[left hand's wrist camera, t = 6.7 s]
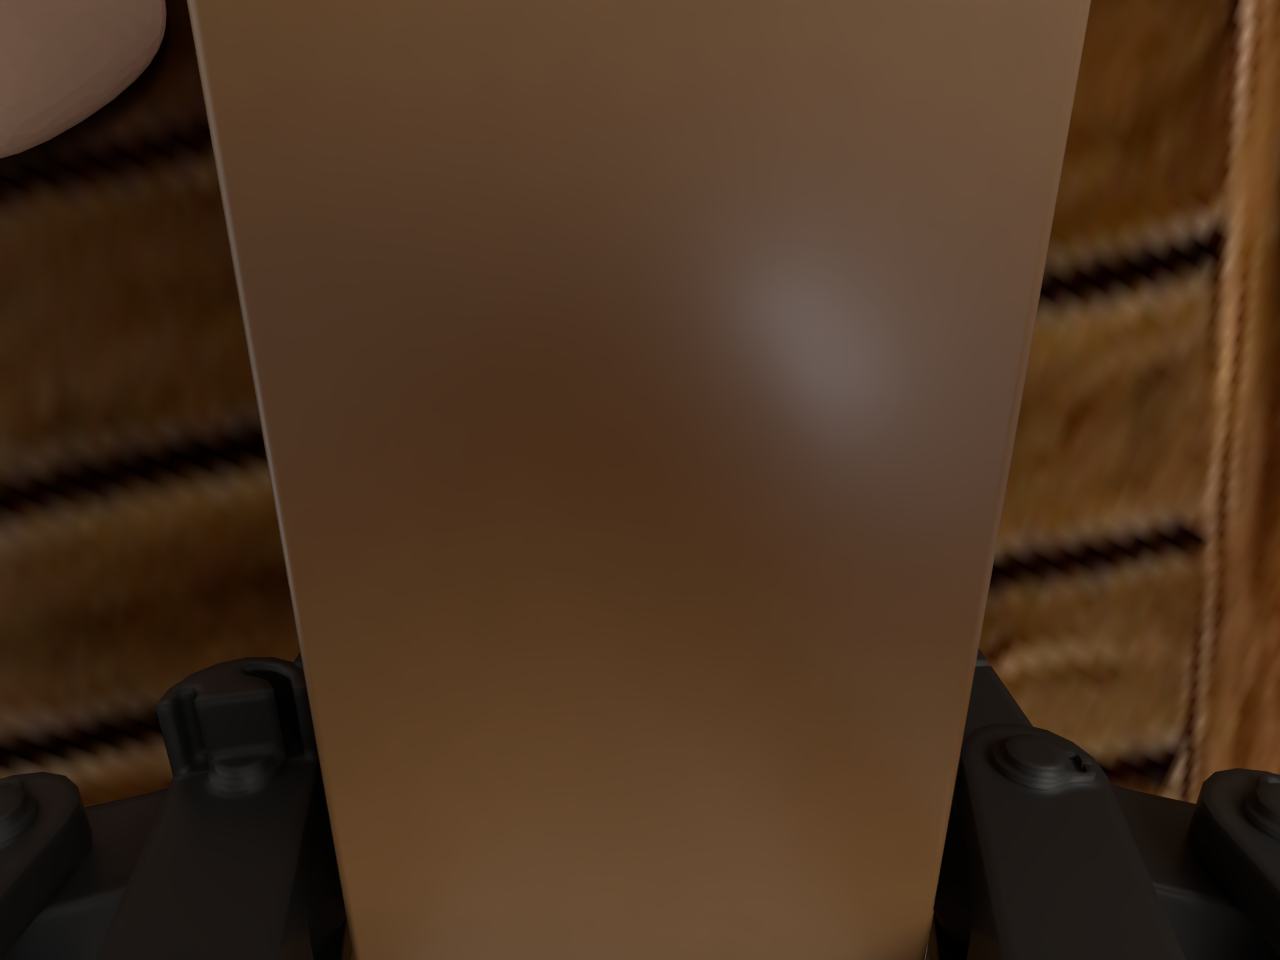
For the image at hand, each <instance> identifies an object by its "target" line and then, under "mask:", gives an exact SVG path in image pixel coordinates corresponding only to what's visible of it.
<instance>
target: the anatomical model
mask: <svg viewBox="0 0 1280 960" xmlns="http://www.w3.org/2000/svg"><path fill="white" fill-rule="evenodd" d="M165 26H166V5H165V0H0V158H3V157H7V156H11V155H14V154H18V153H21V152H23V151H25V150H27V149H30V148H32V147H34V146H37V145H39V144H41V143H44V142H46V141H48V140H50V139H52V138H54V137H56V136H57V135H59V134H61V133H63V132H64V131H66V130H68V129H69V128H71V127H73V126H75V125H76V124H78V123H80V122H82V121H83V120H85V119H86V118H88V117H89V116H90V115H92V114H93V113H95V112H96V111H98V110H99V109H101V108H102V107H103V106H105V105H106V104H108V103H109V102H111V101H112V100H113V99H115V98H116V97H117V96H118V95H119V94H120V93H121V92H123V91H124V90H125V89H126V88H127V87H128V86H130V85H131V84H132V83H133V82H134V81H135V80H136V79H137V78H138V77H139V76H140V75H141V74H142V73H143V71H144V70H145V69H146V68H147V67H148V66H149V64H150V63H151V61H152V60H153V58H154V56H155V55H156V53H157V52H158V50H159V47H160V45H161V42H162V39H163V36H164V31H165Z"/></svg>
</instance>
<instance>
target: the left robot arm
mask: <svg viewBox="0 0 1280 960" xmlns="http://www.w3.org/2000/svg"><path fill="white" fill-rule="evenodd" d="M155 707H156V711H157V715H158V718H159V722H160V726H161V730H162V734H163V738H164V742H165V746H166V750H167V754H168V758H169V761H170V765H171V769H172V773H173V779H172V782H171V784H170V786H169V788H166V789H163V790H159V791H156V792H152V793H149V794H145V795H140V796H135V797H131V798H126V799H122V800H117V801H112V802H108V803H103V804H99V805H94V806H89V807H85V808H84V806H83V803H82V799H81V796H80V793H79V790H78V787H77V786H76V785H75V784H74V783H73V782H72V781H71V780H69V779H68V778H67V777H66V776H63V775H58V774H52V773H46V772H38V773H29V774H20V775H13V776H10V777H6V778H2V779H0V960H351V951H352V946H351V939H350V933H349V927H348V921H347V915H346V910H345V904H344V898H343V892H342V887H341V881H340V875H339V870H338V864H337V858H336V852H335V847H334V841H333V835H332V829H331V824H330V818H329V812H328V806H327V801H326V795H325V789H324V783H323V778H322V772H321V766H320V761H319V755H318V749H317V743H316V738H315V732H314V726H313V720H312V715H311V709H310V703H309V697H308V692H307V686H306V680H305V674H304V669H303V663H302V657H301V652H300V654H299V655H298V657H297V658H296V659H295V661H294V662H289V661H285V660H281V659H277V658H274V657H253V658H242V659H238V660H233V661H228V662H223V663H219V664H216V665H214V666H211V667H209V668H206V669H204V670H201V671H199V672H196V673H194V674H191V675H190V676H188V677H187V678H185V679H184V680H182V681H181V682H179V683H178V684H176V685H175V686H173V687H172V688H170V689H169V690H168V691H167V692H166V693H165V695H164V696H163V697H162V698H161V699H160V701H159V702H158V703H157V704H156V705H155ZM933 910H934V914H933V920H932V926H931V931H930V937H929V943H928V949H927V954H926V960H1280V775H1278V774H1273V773H1270V772H1267V771H1258V770H1249V769H1240V768H1236V769H1230V770H1224V771H1219V772H1215V773H1214V774H1212V775H1211V776H1210V777H1209V778H1208V779H1207V780H1206V781H1204V782H1203V784H1202V787H1201V791H1200V794H1199V797H1198V800H1197V804H1193V803H1189V802H1184V801H1179V800H1175V799H1170V798H1166V797H1161V796H1156V795H1152V794H1147V793H1142V792H1138V791H1133V790H1130V789H1126V788H1123V787H1119V786H1116V785H1112V784H1110V782H1109V780H1108V778H1107V776H1106V774H1105V773H1104V772H1103V770H1102V769H1101V767H1100V766H1099V765H1098V763H1097V762H1096V760H1095V759H1094V758H1093V757H1092V756H1091V755H1089V754H1088V753H1087V752H1085V751H1084V750H1083V749H1081V748H1080V747H1079V746H1077V745H1076V744H1075V743H1073V742H1072V741H1069V740H1067V739H1065V738H1063V737H1061V736H1059V735H1056V734H1054V733H1052V732H1050V731H1048V730H1044V729H1040V728H1036V727H1033V726H1032V724H1031V723H1030V722H1029V720H1028V719H1027V717H1026V716H1025V714H1024V713H1023V711H1022V710H1021V709H1020V707H1019V706H1018V704H1017V703H1016V701H1015V700H1014V698H1013V697H1012V696H1011V694H1010V693H1009V691H1008V690H1007V688H1006V687H1005V686H1004V684H1003V683H1002V681H1001V680H1000V678H999V677H998V675H997V674H996V673H995V671H994V670H993V668H992V667H991V666H988V661H987V660H986V658H985V657H984V655H983V654H982V652H981V651H980V649H979V648H978V654H977V659H976V665H975V671H974V677H973V682H972V688H971V694H970V700H969V705H968V711H967V717H966V723H965V729H964V734H963V740H962V746H961V752H960V757H959V763H958V769H957V775H956V780H955V786H954V792H953V798H952V803H951V809H950V815H949V821H948V826H947V832H946V838H945V844H944V849H943V855H942V861H941V867H940V872H939V878H938V884H937V890H936V895H935V901H934V907H933Z"/></svg>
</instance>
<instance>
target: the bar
mask: <svg viewBox="0 0 1280 960" xmlns="http://www.w3.org/2000/svg"><path fill="white" fill-rule="evenodd" d="M187 3H188V9H189V15H190V20H191V26H192V32H193V38H194V43H195V49H196V55H197V61H198V66H199V72H200V78H201V84H202V89H203V95H204V101H205V106H206V112H207V118H208V124H209V129H210V135H211V141H212V147H213V152H214V158H215V164H216V170H217V175H218V181H219V187H220V193H221V198H222V204H223V210H224V215H225V221H226V227H227V233H228V238H229V244H230V250H231V256H232V261H233V267H234V273H235V279H236V284H237V290H238V296H239V302H240V307H241V313H242V319H243V324H244V330H245V336H246V342H247V347H248V353H249V359H250V365H251V370H252V376H253V382H254V388H255V393H256V399H257V405H258V411H259V416H260V422H261V428H262V433H263V439H264V445H265V451H266V456H267V462H268V468H269V474H270V479H271V485H272V491H273V497H274V502H275V508H276V514H277V520H278V525H279V531H280V537H281V542H282V548H283V554H284V560H285V565H286V571H287V577H288V583H289V588H290V594H291V600H292V606H293V611H294V617H295V623H296V629H297V634H298V640H299V646H300V652H301V657H302V663H303V669H304V674H305V680H306V686H307V692H308V697H309V703H310V709H311V715H312V720H313V726H314V732H315V738H316V743H317V749H318V755H319V761H320V766H321V772H322V778H323V783H324V789H325V795H326V801H327V806H328V812H329V818H330V824H331V829H332V835H333V841H334V847H335V852H336V858H337V864H338V870H339V875H340V881H341V887H342V892H343V898H344V904H345V910H346V915H347V921H348V927H349V933H350V938H351V944H352V950H353V956H354V960H924V959H925V953H926V947H927V942H928V936H929V930H930V924H931V919H932V913H933V907H934V901H935V895H936V890H937V884H938V878H939V872H940V867H941V861H942V855H943V849H944V844H945V838H946V832H947V826H948V821H949V815H950V809H951V803H952V798H953V792H954V786H955V780H956V775H957V769H958V763H959V757H960V752H961V746H962V740H963V734H964V729H965V723H966V717H967V711H968V705H969V700H970V694H971V688H972V682H973V677H974V671H975V665H976V659H977V654H978V648H979V642H980V636H981V631H982V625H983V619H984V613H985V608H986V602H987V596H988V590H989V585H990V579H991V573H992V567H993V562H994V556H995V550H996V544H997V539H998V533H999V527H1000V521H1001V515H1002V510H1003V504H1004V498H1005V492H1006V487H1007V481H1008V475H1009V469H1010V464H1011V458H1012V452H1013V446H1014V441H1015V435H1016V429H1017V423H1018V418H1019V412H1020V406H1021V400H1022V395H1023V389H1024V383H1025V377H1026V372H1027V366H1028V360H1029V354H1030V348H1031V343H1032V337H1033V331H1034V325H1035V320H1036V314H1037V308H1038V302H1039V297H1040V291H1041V285H1042V279H1043V274H1044V268H1045V262H1046V256H1047V251H1048V245H1049V239H1050V233H1051V228H1052V222H1053V216H1054V210H1055V205H1056V199H1057V193H1058V187H1059V182H1060V176H1061V170H1062V164H1063V158H1064V153H1065V147H1066V141H1067V135H1068V130H1069V124H1070V118H1071V112H1072V107H1073V101H1074V95H1075V89H1076V84H1077V78H1078V72H1079V66H1080V61H1081V55H1082V49H1083V43H1084V38H1085V32H1086V26H1087V20H1088V15H1089V9H1090V3H1091V0H187Z"/></svg>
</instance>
